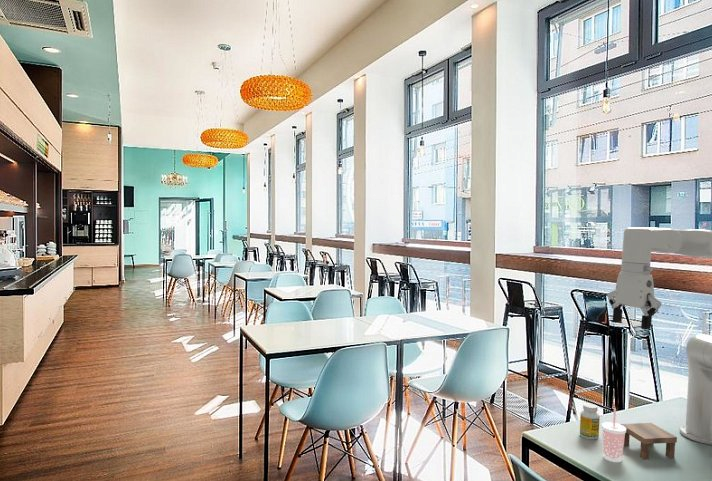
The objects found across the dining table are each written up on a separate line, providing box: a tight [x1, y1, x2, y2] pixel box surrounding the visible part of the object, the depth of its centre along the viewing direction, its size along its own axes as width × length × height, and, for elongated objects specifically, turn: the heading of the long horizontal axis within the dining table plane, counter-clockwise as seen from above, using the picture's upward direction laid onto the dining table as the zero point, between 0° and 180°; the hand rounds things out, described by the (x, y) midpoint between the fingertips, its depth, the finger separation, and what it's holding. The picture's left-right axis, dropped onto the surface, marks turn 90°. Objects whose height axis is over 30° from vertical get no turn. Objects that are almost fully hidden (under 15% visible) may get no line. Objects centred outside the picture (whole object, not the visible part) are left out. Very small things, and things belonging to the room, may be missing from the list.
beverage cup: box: [601, 408, 626, 463], centre depth 141 cm, size 6×6×14 cm
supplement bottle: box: [579, 402, 601, 440], centre depth 156 cm, size 5×5×10 cm
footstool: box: [620, 422, 678, 460], centre depth 147 cm, size 10×10×6 cm
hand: (631, 325), depth 152 cm, fingers open, 9 cm apart
